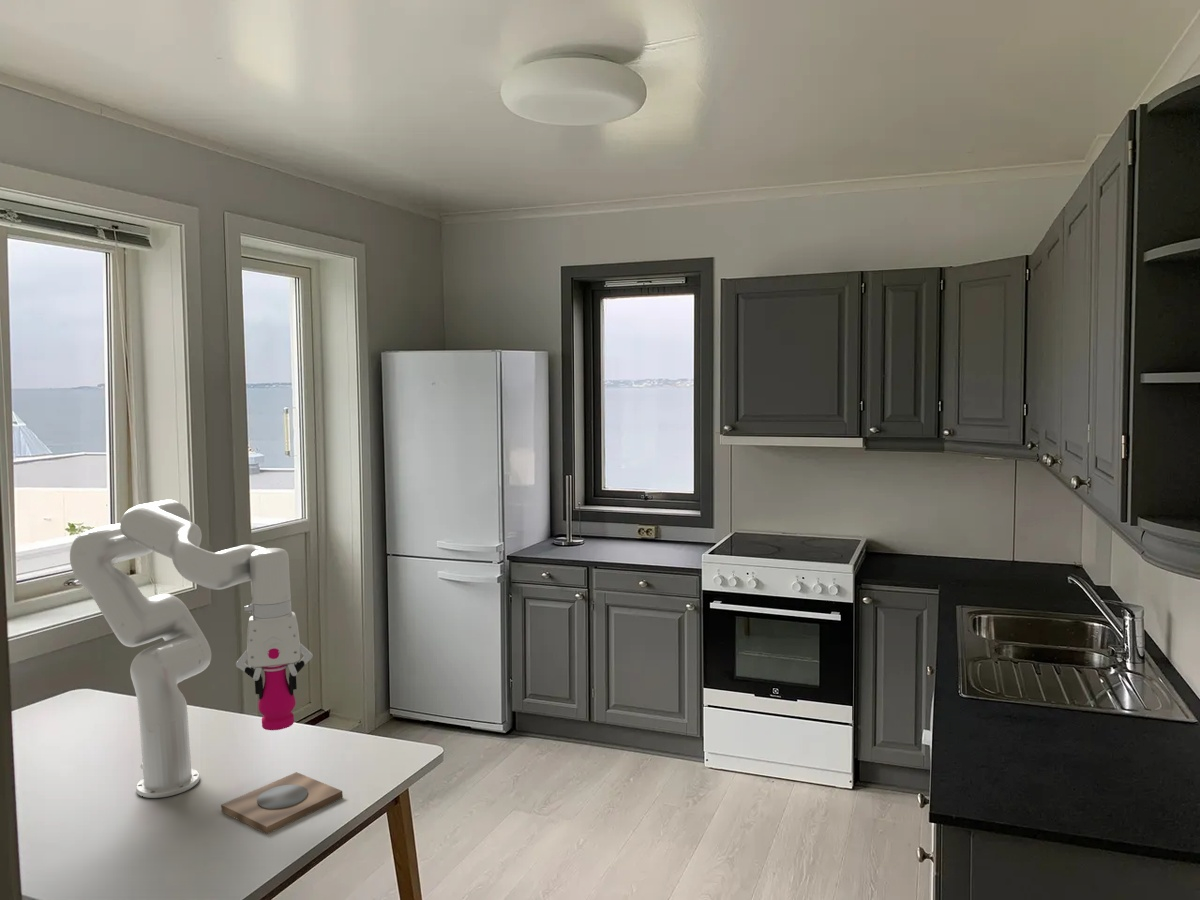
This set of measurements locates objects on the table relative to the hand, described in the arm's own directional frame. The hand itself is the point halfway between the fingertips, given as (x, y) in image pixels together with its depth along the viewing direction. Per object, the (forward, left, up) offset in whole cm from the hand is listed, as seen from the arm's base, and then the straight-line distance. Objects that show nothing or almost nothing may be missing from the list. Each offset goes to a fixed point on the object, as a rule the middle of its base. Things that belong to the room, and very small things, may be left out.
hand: (276, 694), depth 186 cm
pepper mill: (0, 0, -7) cm, 7 cm away
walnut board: (0, 0, -24) cm, 24 cm away
